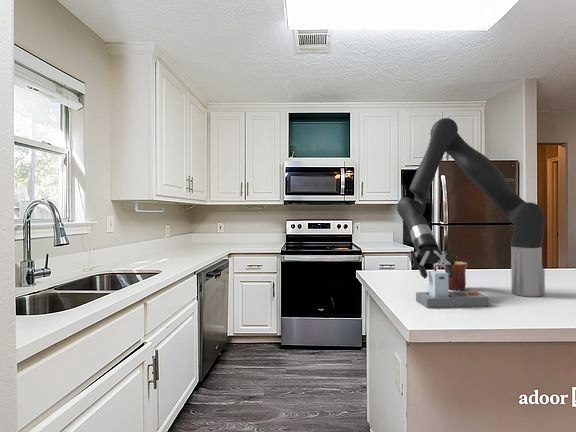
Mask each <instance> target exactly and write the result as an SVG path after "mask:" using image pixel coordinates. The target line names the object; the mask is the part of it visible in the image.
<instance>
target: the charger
mask: <svg viewBox="0 0 576 432" xmlns="http://www.w3.org/2000/svg"><path fill="white" fill-rule="evenodd" d="M449 291H450V290H449V284H448V273H446V272H445V271H443V270H437V271H434V270H431V271H430V270H428V292H429V295H430V296H432V297H449Z"/></svg>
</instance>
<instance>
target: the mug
mask: <svg viewBox="0 0 576 432" xmlns="http://www.w3.org/2000/svg"><path fill="white" fill-rule="evenodd" d="M437 267H442V268H443V270H444V272H446V270H445V269H446V268H444V267H443V266H440V265H438V264H437V263H436V264H434V267H433V271H438V269H437ZM467 267H468V262H464V261H455V264H454V265H453V267H452V270H453V272H454V274H453V276H452V277H451V278H449V277H448V284H449V291H458V290H460V291H465V289H466V284H467V281H466V270H467ZM446 273H447V272H446Z"/></svg>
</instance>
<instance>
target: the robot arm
mask: <svg viewBox="0 0 576 432" xmlns="http://www.w3.org/2000/svg"><path fill="white" fill-rule="evenodd" d="M458 130H459V129H458V125H457V122H456V121H455V120H453V119H452V118H450V117H449V118H448V117H447V118H446V117H444V118H441V119H439V120H437V121H435V123H433V125H432V127H431V130H430V134H429V135H430V140H429V143H428V145H427V146H428V147H427V149H426V151H425V153H424V155H423V158H422V160H421V162H420V163H419V165H418V168H417V170H416V172H415V174H414V176H413V178H412V181H411V184H410V185H409V191H410V192H411V193H412V194H413V195H414V199H413V198H410V197H406V196H405V197H402V198H400V199H399V201H398V202H397V205H396V211H397V214H399V216H400V218H401V219H402V221H403V222H404V223H405V224H406V226H407V228H408V232H409V234H410V238H411V242H412V243H413V246H414V249H415V251H414V250H411V251H410V252H409V255H408V258H409V260H410V263H411V268H413V269H418V271H419V273H420V276H421V277H422V278H423V279H427V278H428V277H429V273H428V272H427V269H426V266H425V264H427V265H429V264H433V265H436V264H438V265H440V266H439V267H441V266H443V267H444V268H446V269H444V268H443V267H442V268H443V269H444V271H445V270H446V272H447V273H448V277H449V278H451V277H452V276H453V274H454V272H453V270H452V267H453V265H454V264H455V262H456V261H455V259H454V257H453V254H452V253H451V252H450V250H449V249H446V250H445V251H442V250H440V249H439V245H438V243H437V240H436V237H435V235H434V234H433V231H432V230H431V227H429V224H428V222H427V220H426V217H425V216H423V215H424V213H425V212H426V211H425V210H426V207H427V199H428V193H429V190H430V188H431V186H432V184H433V181H434V179H435V176H436V174H437V171H438V169H439V167H440V164H441V161H442V159H443V157H444V155H445V153H446V154H447V155H449V156H450V158H452V159H453V160H454V162H455V163H456V164H457V165H458V167H459V168H460V169H461V171H463V173H464V174H465V175H466V176H467V177H468V178H469V180H470V181H472V182H473V183H474V184H475V185H476V186H477V188H479V189H480V190H481V192H483V193H484V194H485V195H486V196H487V197H489V199H491V200H492V201H493V202H494V203H495V204H496V205H497V206H498V208H500V210H501V212H502V213H503V214H504V215H505V216H506V218H507V219H508V220H509V222H510V223H512V225H513V236H512V238H511V239H510V250H511V251H510V252H511V253H510V254H511V255H510V259H511V260H510V263H511V264H510V267H511V269H510V270H511V271H510V272H511V282H510V283H511V288H510V289H511V294H514V295H517V296H523V297H530V298H531V297H535V298H537V297H541V296H545V293H546V285H545V283H546V282H545V280H546V278H545V276H546V273H545V272H546V271H545V268H544V267H543V263H542V262H543V260H542V259H543V256H542V255H543V254H542V253H543V251H542V249H543V248H542V243H543V240H544V238H545V235H544V234H545V214H544V210H543V209H542V207H541V206H540V205H539V204H537V203H534V202H529V201H525V200H524V199H523V198H521V197H520V196H519V195H518V194H517V193H516V192H515V191H514V190H513V188H511V186H510V185H509V183H508V181H507V179H506V177H505V176H504V174H503V173H502V172H501V170H500V168H499V167H497V166H496V165H495V163H493V162H492V161H491V160H490V159H489V158H488V157H487V156H486V155H484V154H483V153H481V152H480V151H478V150H476V149H475V148H473V147H472V146H471V145H469V144H468V143H467V141H465V140H464V138H462V136H461V135H460V133H458ZM417 258H419V259H420V262H418V260H417Z"/></svg>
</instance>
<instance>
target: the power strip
mask: <svg viewBox="0 0 576 432" xmlns="http://www.w3.org/2000/svg"><path fill="white" fill-rule="evenodd" d="M489 299H490V298H489V296H488V295H484V294H482V293H479V292H478V291H477V290H476V291H475V290H460V291H457V290H449V297H432V296H430V295H429V291H418V292H415V301H416V302H417V304H418V303H419V304H420V305H421V306H423V307H425V308H427V309H436V308H437V309H439V308H442V309H443V308H444V309H445V308H475V307H477V308H479V307H480V308H481V307H489V305H490V304H489V303H490V301H489Z"/></svg>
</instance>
